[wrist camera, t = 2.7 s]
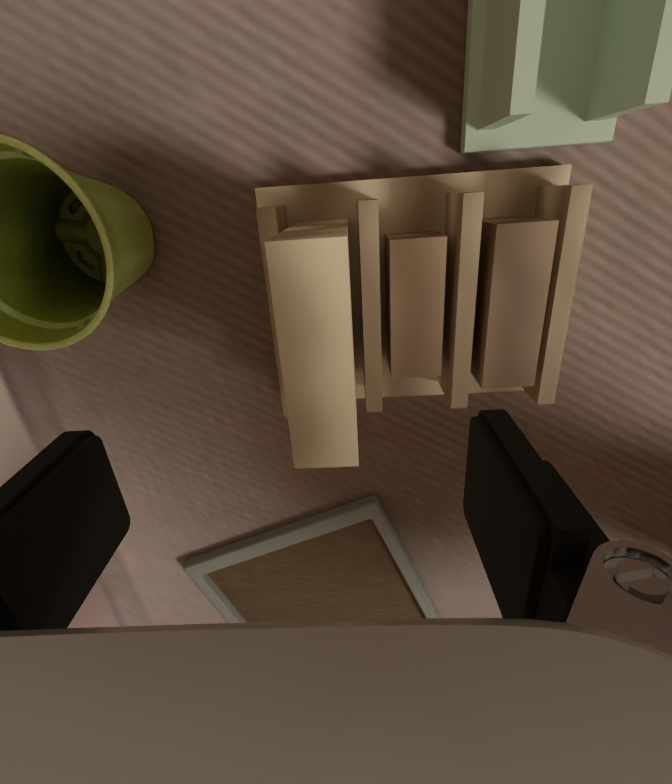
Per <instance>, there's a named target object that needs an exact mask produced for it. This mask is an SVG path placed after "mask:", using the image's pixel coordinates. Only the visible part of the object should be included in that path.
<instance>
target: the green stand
mask: <svg viewBox="0 0 672 784" xmlns="http://www.w3.org/2000/svg"><path fill="white" fill-rule="evenodd" d="M671 89H672V0H468V15H467V34H466V53H465V71H464V90H463V109H462V127H461V146H460V154H464V153H477V152H490V151H503V150H516V149H529V148H542V147H555V146H568V145H581V144H594V143H604V142H609V141H613V136H614V130H615V125H616V120H617V117H618V116H621V115H625V114H628V113H632V112H635V111H639V110H642V109H646V108H650V107H653V106H657V105H660V104H664V103H667V102H669V98H670V94H671Z"/></svg>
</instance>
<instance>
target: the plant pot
mask: <svg viewBox="0 0 672 784" xmlns="http://www.w3.org/2000/svg"><path fill="white" fill-rule="evenodd" d="M78 198H79V200H80V201H81V202H82V205H80V206H79V207H78V209H77V210H76V212H75V213H74V214H71V213H70V208H71V205H72V204H73V203H74V202H75V201H76V199H78ZM78 251H79V252H80V253H81V254H82V255H83V256H84V258H85V259H86V260H87V261H88V262H89V263H90V264H91V265H93V266H94V269H90V268H89V267H87V266H86V265H85V264H84V263H83V262H82V261H81V260H80V259H79V258H78V255H77V252H78ZM153 258H154V241H153V229H152V226H151V224H150V221H149V219H148V217H147V216H146V214H145V212H144V211H143V209H142V208H141V206H140V205H139V204H138V203H137V202H136V201H135V200H134V199H133V198H132V197H131V196H129V195H128V194H127V193H125V192H124V191H122V190H121V189H119V188H117V187H115V186H112V185H110V184H107V183H103V182H101V181H97V180H94V179H91V178H88V177H85V176H82V175H79V174H76V173H73V172H71V171H68V170H65V169H63V168H62V167H61V166H60V165H59V164H57V163H56V162H55V161H54V160H52V159H51V158H50V157H48V156H47V155H45V154H44V153H42V152H41V151H39V150H38V149H36V148H34V147H33V146H31V145H29V144H26V143H24V142H22V141H20V140H18V139H15V138H12V137H9V136H6V135H3V134H0V343H2V344H5V345H8V346H13V347H16V348H21V349H27V350H56V349H60V348H64V347H67V346H70V345H72V344H75V343H76V342H78V341H80V340H82V339H83V338H85V337H86V336H88V335H89V334H90V333H92V332H93V331H94V330H95V329H96V328H97V327H98V326H99V324H100V323H101V322H102V320H103V319H104V317H105V316H106V314H107V312H108V310H109V307H110V305H111V302H112V300H113V299H114V298H115V297H117V296H118V295H119V294H120V293H121V292H123V291H124V290H125V289H126V288H128V287H129V286H130V285H131V284H133V283H134V282H135V281H137V280H138V279H139V278H141V277H142V276H143V275H144V274H145V273H146V272H147V270H148V269H149V267H150V265H151V263H152V261H153Z"/></svg>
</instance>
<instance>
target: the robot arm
mask: <svg viewBox="0 0 672 784" xmlns="http://www.w3.org/2000/svg"><path fill="white" fill-rule="evenodd" d="M463 507H464V514H465V518H466V520H467V523H468V526H469V528H470V531H471V534H472V536H473V539H474V542H475V544H476V547H477V550H478V552H479V555H480V558H481V561H482V563H483V566H484V569H485V571H486V574H487V577H488V579H489V582H490V585H491V587H492V590H493V593H494V595H495V598H496V601H497V603H498V606H499V609H500V611H501V614H502V617H503V618H419V619H368V620H328V621H288V622H252V623H218V624H186V625H154V626H123V627H95V628H70V629H69V628H68V629H67V627H68V626H69V624H70V622H71V621H72V619H73V618H74V616H75V614H76V613H77V611H78V610H79V608H80V607H81V605H82V603H83V602H84V600H85V599H86V597H87V595H88V594H89V592H90V591H91V589H92V587H93V586H94V584H95V583H96V581H97V579H98V578H99V576H100V575H101V573H102V571H103V570H104V568H105V567H106V565H107V564H108V562H109V560H110V559H111V557H112V556H113V554H114V552H115V551H116V549H117V548H118V546H119V544H120V543H121V541H122V540H123V538H124V536H125V535H126V533H127V532H128V529H129V526H130V516H129V513H128V510H127V508H126V505H125V502H124V500H123V497H122V494H121V491H120V489H119V486H118V483H117V480H116V478H115V475H114V472H113V470H112V467H111V464H110V461H109V459H108V456H107V453H106V450H105V448H104V445H103V442H102V440H101V438H100V437H99V436H95V434H94V433H93V432H91V431H89V430H87V431H68V432H64V433H62V434H61V435H60V436H58V437H57V438H56V439H55V440H54V441H53V442H52V443H50V444H49V445H48V446H47V447H46V448H45V449H43V450H42V451H41V452H40V453H39V454H38V455H37V456H35V457H34V458H33V459H32V460H31V461H30V462H29V463H27V464H26V465H25V466H24V467H23V468H22V469H21V470H19V471H18V472H17V473H16V474H15V475H14V476H12V478H10V479H9V480H8V481H7V482H6V483H4V484H3V485H2V486H1V487H0V784H672V558H671V557H669V556H668V555H666V554H665V553H663V552H660V551H658V550H656V549H654V548H652V547H650V546H646V545H643V544H640V543H636V542H631V541H622V540H618V541H610V540H609V539H608V538H607V536H606V535H605V534H604V533H603V531H602V530H601V529H600V527H599V526H598V525H597V523H596V522H595V521H594V519H593V518H592V517H591V515H590V514H589V513H588V511H587V510H586V509H585V508H584V506H583V505H582V504H581V502H580V501H579V500H578V498H577V497H576V496H575V494H574V493H573V492H572V490H571V489H570V488H569V487H568V485H567V484H566V483H565V481H564V480H563V479H562V477H561V476H560V475H559V473H558V472H557V471H556V469H555V468H554V467H553V466H552V465H551V464H550V463H549V462H548V461H545V460H542V459H541V458H540V456H539V455H538V453H537V452H536V451H535V449H534V448H533V447H532V445H531V444H530V443H529V441H528V440H527V439H526V437H525V436H524V434H523V433H522V432H521V430H520V429H519V428H518V426H517V425H516V424H515V422H514V421H513V420H512V418H511V417H510V416H509V414H508V413H507V411H506V410H504V409H499V410H480V411H479V413H478V416H476V417H472V418H471V420H470V430H469V442H468V454H467V465H466V477H465V489H464V500H463Z"/></svg>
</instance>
